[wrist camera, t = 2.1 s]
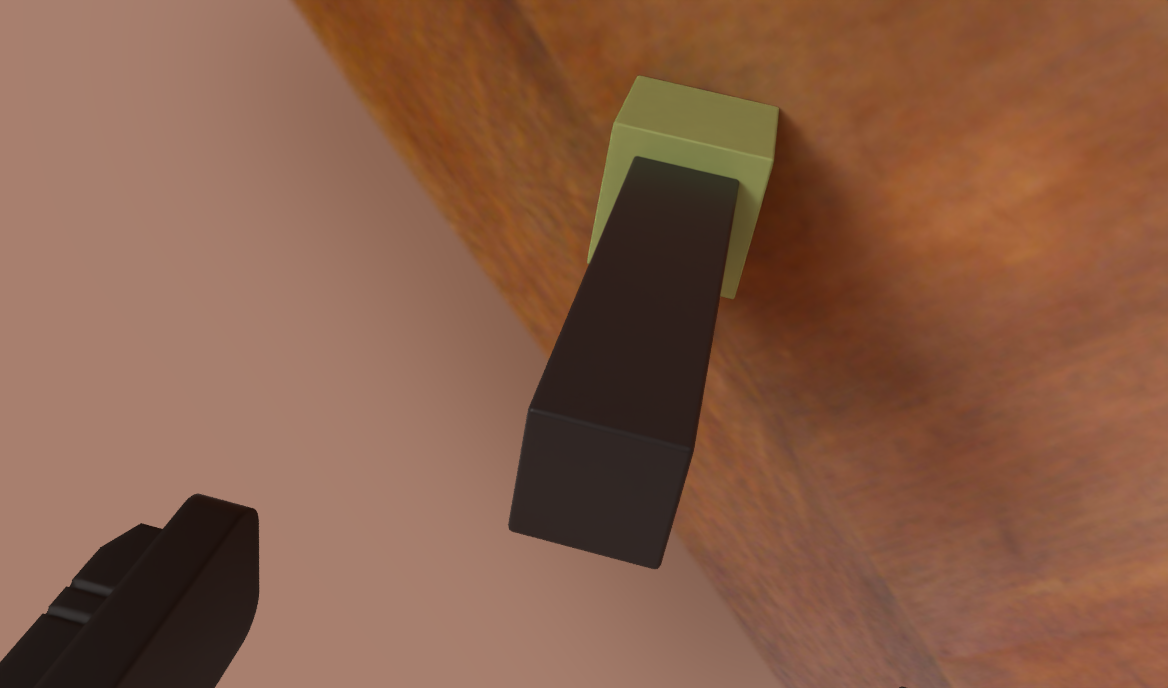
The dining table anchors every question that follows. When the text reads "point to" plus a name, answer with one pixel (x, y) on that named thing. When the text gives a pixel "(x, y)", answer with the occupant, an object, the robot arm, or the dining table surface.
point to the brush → (644, 322)
